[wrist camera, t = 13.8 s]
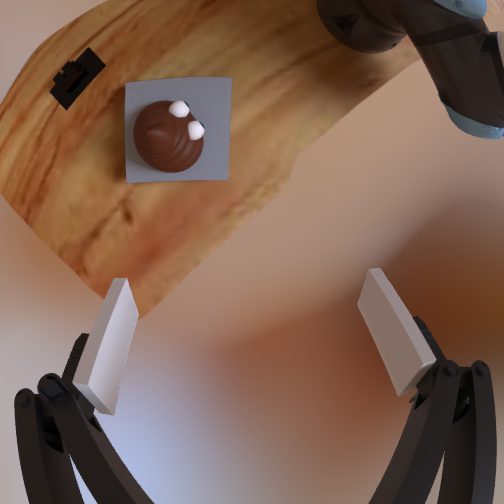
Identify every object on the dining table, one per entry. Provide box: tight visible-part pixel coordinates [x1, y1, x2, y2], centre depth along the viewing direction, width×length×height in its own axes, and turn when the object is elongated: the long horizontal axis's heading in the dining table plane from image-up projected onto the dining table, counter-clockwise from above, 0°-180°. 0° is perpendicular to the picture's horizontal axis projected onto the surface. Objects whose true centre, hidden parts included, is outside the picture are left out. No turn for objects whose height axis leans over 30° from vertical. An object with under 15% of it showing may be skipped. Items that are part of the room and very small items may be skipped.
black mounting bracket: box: [50, 47, 106, 110], centre depth 27 cm, size 12×7×5 cm, turn 129°
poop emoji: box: [133, 100, 205, 173], centre depth 28 cm, size 10×8×9 cm
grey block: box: [125, 77, 232, 183], centre depth 34 cm, size 14×14×4 cm
